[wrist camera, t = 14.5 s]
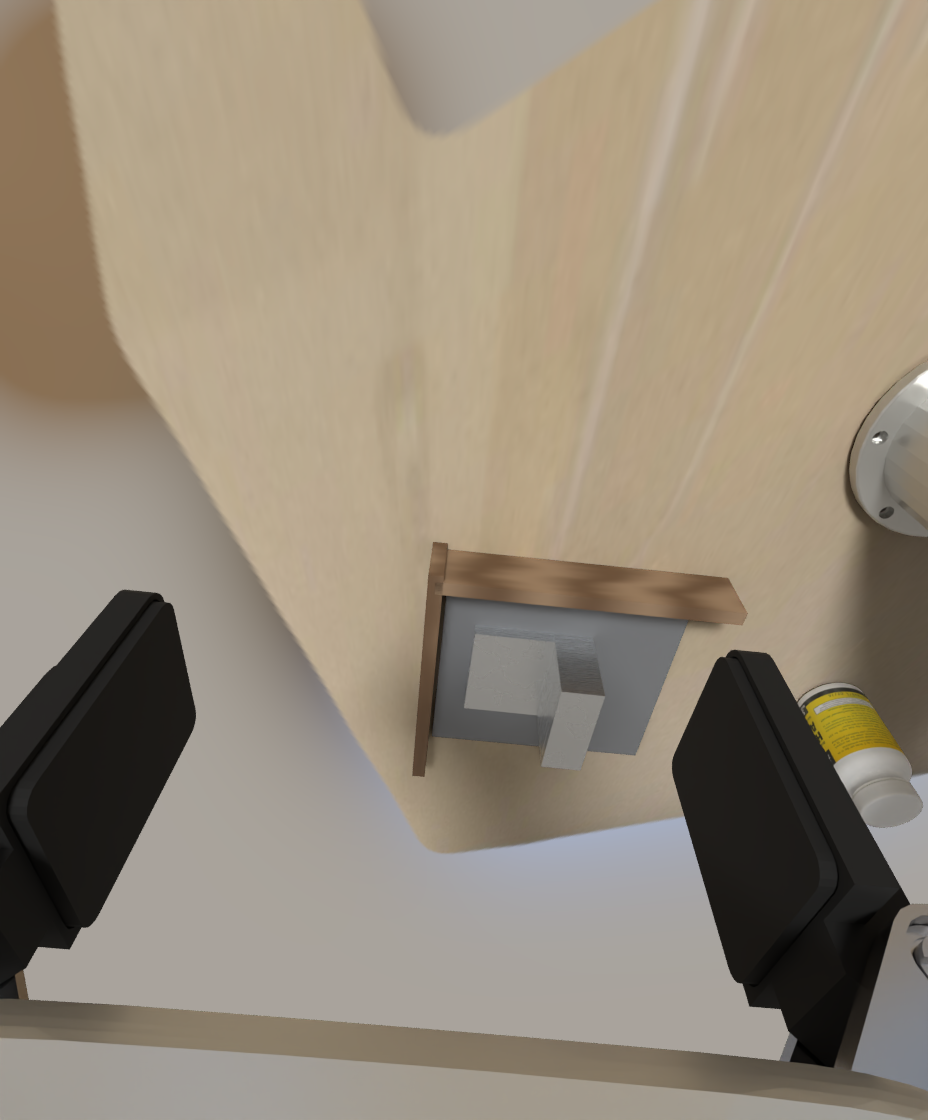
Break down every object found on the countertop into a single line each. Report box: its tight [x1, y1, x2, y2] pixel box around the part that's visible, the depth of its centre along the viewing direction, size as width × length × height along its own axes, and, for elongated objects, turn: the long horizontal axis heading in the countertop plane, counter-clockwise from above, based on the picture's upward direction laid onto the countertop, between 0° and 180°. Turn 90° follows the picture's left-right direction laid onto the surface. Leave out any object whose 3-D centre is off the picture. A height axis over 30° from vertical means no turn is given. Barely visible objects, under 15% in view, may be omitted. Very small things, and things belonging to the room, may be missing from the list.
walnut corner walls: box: [412, 542, 748, 777], centre depth 47 cm, size 21×21×4 cm
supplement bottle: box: [797, 683, 923, 828], centre depth 46 cm, size 5×5×10 cm
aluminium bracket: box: [464, 625, 605, 770], centre depth 46 cm, size 8×9×6 cm
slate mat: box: [432, 596, 688, 755], centre depth 49 cm, size 18×18×1 cm
